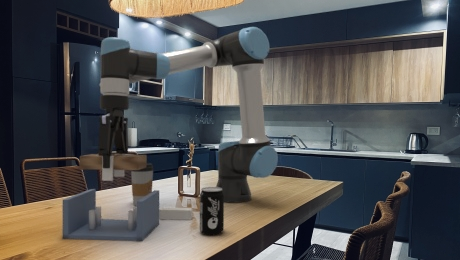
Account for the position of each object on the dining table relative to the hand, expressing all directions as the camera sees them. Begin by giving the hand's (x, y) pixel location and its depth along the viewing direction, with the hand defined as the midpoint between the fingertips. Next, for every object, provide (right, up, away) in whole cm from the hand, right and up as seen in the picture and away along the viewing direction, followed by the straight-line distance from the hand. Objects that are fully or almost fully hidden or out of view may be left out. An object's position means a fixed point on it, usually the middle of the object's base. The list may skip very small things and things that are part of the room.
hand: (113, 178), depth 92 cm
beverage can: (+27, -15, -1) cm, 31 cm away
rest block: (+15, -15, +13) cm, 25 cm away
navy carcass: (0, -15, 0) cm, 15 cm away
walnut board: (0, +3, 0) cm, 3 cm away
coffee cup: (-1, -15, +32) cm, 35 cm away
